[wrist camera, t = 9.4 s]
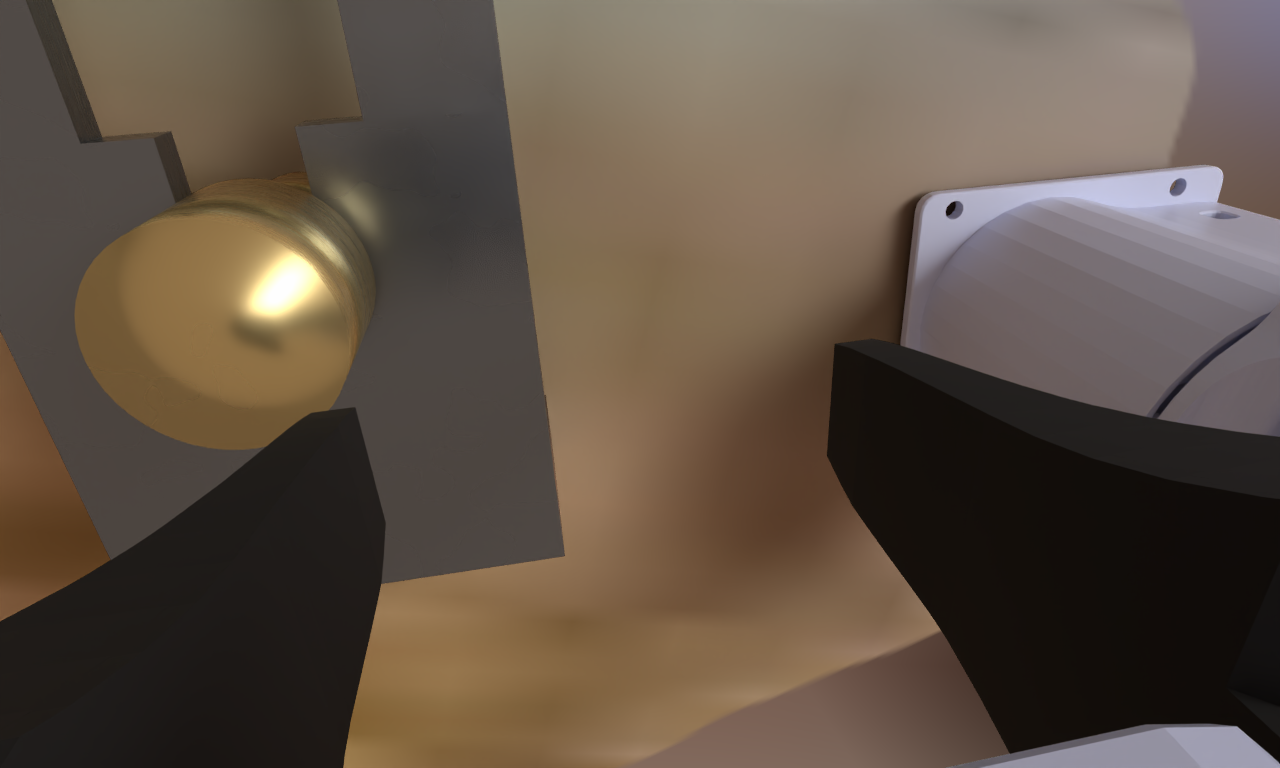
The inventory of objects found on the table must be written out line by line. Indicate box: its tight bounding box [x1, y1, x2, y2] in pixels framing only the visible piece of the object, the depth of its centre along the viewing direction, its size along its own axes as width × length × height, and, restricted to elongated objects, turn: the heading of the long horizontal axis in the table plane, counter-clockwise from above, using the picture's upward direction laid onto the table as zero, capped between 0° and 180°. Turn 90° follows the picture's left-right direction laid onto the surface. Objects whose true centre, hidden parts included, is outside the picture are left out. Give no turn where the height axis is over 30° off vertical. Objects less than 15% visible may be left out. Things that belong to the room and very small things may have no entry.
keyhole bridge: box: [0, 0, 565, 584], centre depth 16 cm, size 10×20×5 cm, turn 3°
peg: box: [74, 172, 376, 450], centre depth 15 cm, size 4×4×7 cm
